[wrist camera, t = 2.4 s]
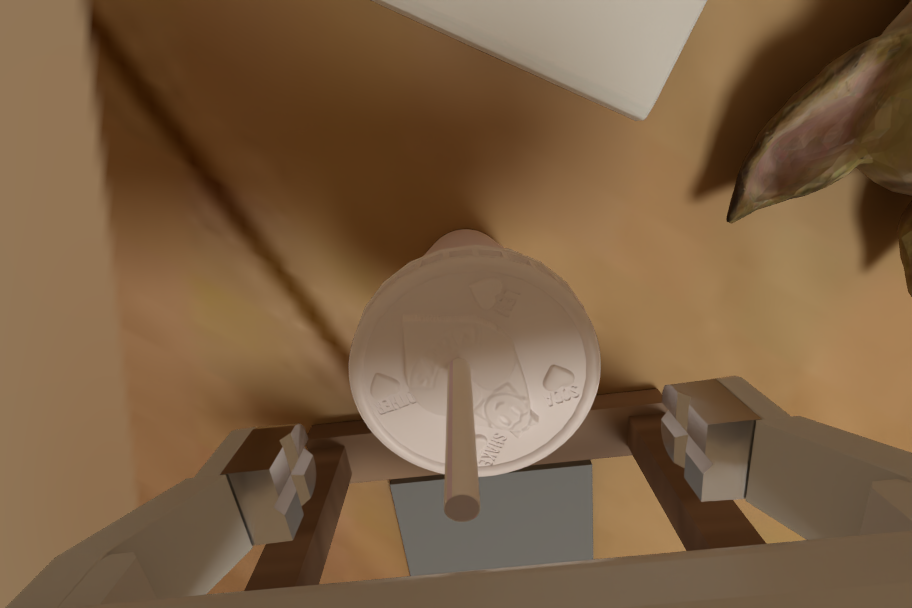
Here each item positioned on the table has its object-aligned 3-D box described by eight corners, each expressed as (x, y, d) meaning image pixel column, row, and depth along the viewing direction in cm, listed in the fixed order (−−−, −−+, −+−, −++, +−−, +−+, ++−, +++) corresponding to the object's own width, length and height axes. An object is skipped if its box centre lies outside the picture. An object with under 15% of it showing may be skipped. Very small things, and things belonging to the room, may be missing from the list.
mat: (391, 478, 24) (389, 484, 24) (589, 458, 24) (592, 464, 23) (420, 610, 28) (420, 618, 27) (591, 595, 27) (593, 603, 27)
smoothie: (466, 165, 18) (498, 236, 5) (564, 269, 20) (782, 527, 7) (366, 269, 20) (192, 528, 7) (464, 357, 21) (481, 704, 8)
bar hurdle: (312, 425, 23) (180, 690, 12) (657, 388, 22) (858, 635, 11) (325, 470, 24) (216, 751, 13) (654, 436, 23) (835, 705, 12)
